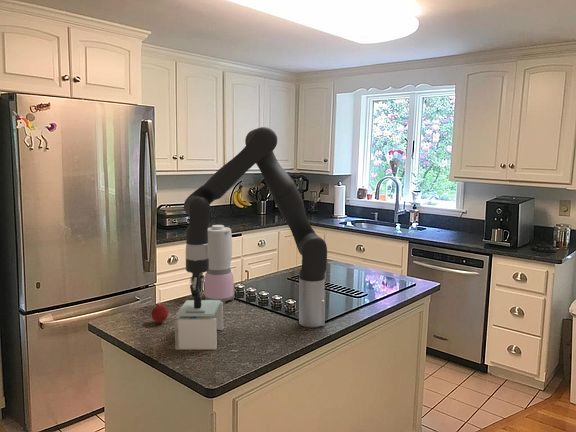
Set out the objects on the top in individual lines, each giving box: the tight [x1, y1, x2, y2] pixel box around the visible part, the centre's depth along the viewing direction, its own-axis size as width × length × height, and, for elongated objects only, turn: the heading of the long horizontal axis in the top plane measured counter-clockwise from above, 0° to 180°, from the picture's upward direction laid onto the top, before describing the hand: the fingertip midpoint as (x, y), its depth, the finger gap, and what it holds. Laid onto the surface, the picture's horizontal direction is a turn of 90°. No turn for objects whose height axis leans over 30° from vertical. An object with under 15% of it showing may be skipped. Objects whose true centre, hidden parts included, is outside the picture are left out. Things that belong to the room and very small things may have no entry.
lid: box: [175, 299, 221, 316], centre depth 160 cm, size 12×17×1 cm
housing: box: [173, 302, 224, 350], centre depth 161 cm, size 13×17×10 cm
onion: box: [150, 301, 169, 324], centre depth 175 cm, size 6×6×8 cm
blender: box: [204, 224, 235, 305], centre depth 201 cm, size 16×12×32 cm
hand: (197, 307), depth 158 cm, fingers closed
